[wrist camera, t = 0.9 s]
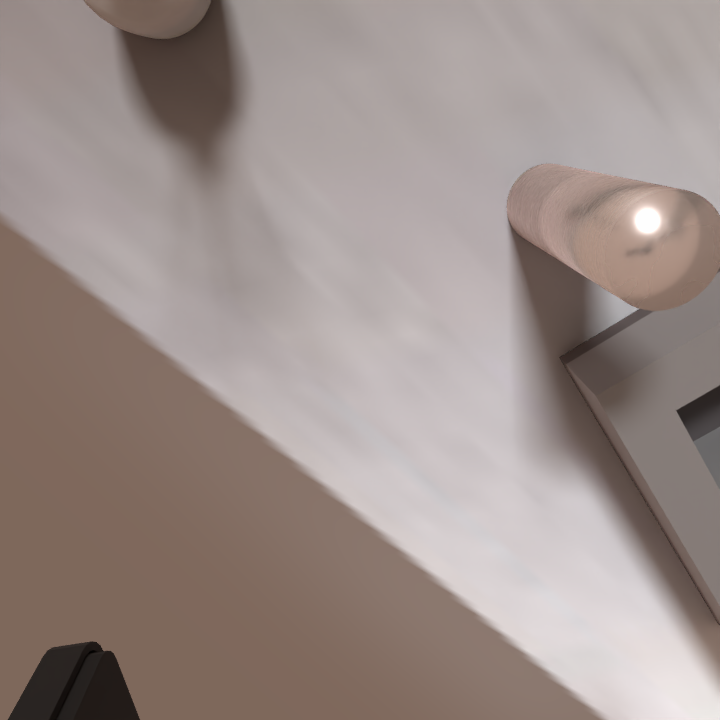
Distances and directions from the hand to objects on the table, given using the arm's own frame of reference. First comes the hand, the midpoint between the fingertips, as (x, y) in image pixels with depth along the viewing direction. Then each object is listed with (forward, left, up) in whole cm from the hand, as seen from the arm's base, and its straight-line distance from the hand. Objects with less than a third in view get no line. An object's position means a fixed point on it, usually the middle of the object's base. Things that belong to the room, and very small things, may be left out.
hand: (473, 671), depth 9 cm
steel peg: (-8, +2, -25) cm, 26 cm away
